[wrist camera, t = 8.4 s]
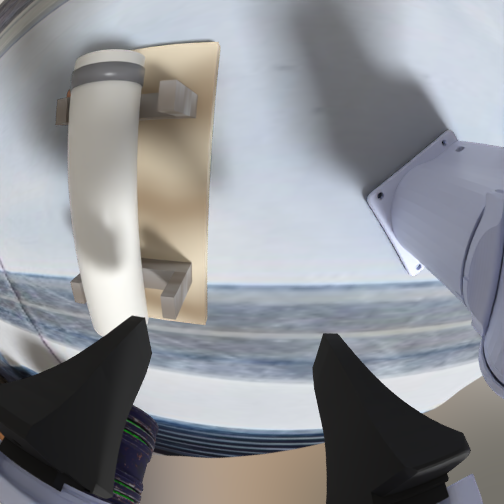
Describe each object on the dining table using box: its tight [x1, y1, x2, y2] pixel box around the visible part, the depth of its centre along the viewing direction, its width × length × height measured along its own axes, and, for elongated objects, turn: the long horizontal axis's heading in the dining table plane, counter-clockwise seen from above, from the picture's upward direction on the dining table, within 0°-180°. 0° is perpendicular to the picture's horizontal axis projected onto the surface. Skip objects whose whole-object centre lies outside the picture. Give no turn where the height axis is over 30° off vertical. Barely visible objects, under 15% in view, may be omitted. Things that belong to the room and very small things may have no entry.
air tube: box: [68, 49, 149, 337], centre depth 13 cm, size 16×4×4 cm, turn 175°
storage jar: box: [84, 405, 158, 504], centre depth 22 cm, size 10×10×15 cm
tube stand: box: [56, 42, 220, 325], centre depth 15 cm, size 20×9×6 cm, turn 175°
